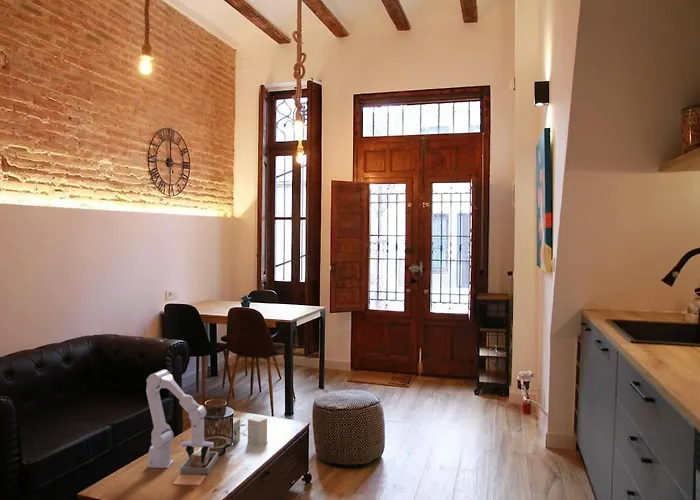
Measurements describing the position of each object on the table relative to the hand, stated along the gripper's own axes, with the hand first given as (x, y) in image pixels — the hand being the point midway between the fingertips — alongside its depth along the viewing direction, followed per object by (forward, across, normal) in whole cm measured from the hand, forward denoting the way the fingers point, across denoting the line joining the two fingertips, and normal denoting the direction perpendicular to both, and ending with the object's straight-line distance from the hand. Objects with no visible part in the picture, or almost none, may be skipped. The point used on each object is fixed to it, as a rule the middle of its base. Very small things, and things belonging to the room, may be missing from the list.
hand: (197, 462), depth 252 cm
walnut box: (+2, 0, 0) cm, 2 cm away
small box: (+4, +21, +33) cm, 39 cm away
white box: (+3, 0, +8) cm, 9 cm away
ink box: (+4, +8, +33) cm, 34 cm away
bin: (+3, 0, +4) cm, 5 cm away
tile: (+3, 0, -11) cm, 12 cm away
